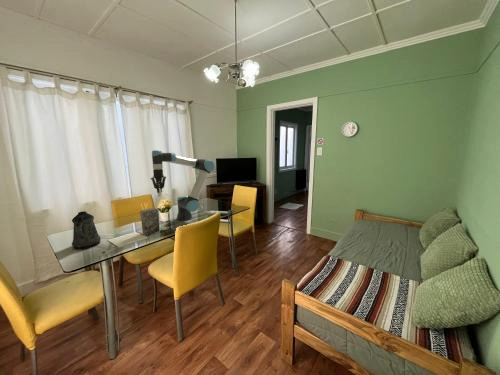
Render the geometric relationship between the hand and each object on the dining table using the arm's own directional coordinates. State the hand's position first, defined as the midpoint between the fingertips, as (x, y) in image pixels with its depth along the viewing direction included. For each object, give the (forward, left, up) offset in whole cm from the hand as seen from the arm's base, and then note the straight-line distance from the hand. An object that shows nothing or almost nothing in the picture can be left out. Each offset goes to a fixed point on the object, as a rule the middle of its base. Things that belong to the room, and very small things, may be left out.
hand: (159, 196), depth 179 cm
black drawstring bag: (+51, -12, -30) cm, 60 cm away
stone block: (+10, 0, -30) cm, 31 cm away
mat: (+28, 0, -29) cm, 41 cm away
